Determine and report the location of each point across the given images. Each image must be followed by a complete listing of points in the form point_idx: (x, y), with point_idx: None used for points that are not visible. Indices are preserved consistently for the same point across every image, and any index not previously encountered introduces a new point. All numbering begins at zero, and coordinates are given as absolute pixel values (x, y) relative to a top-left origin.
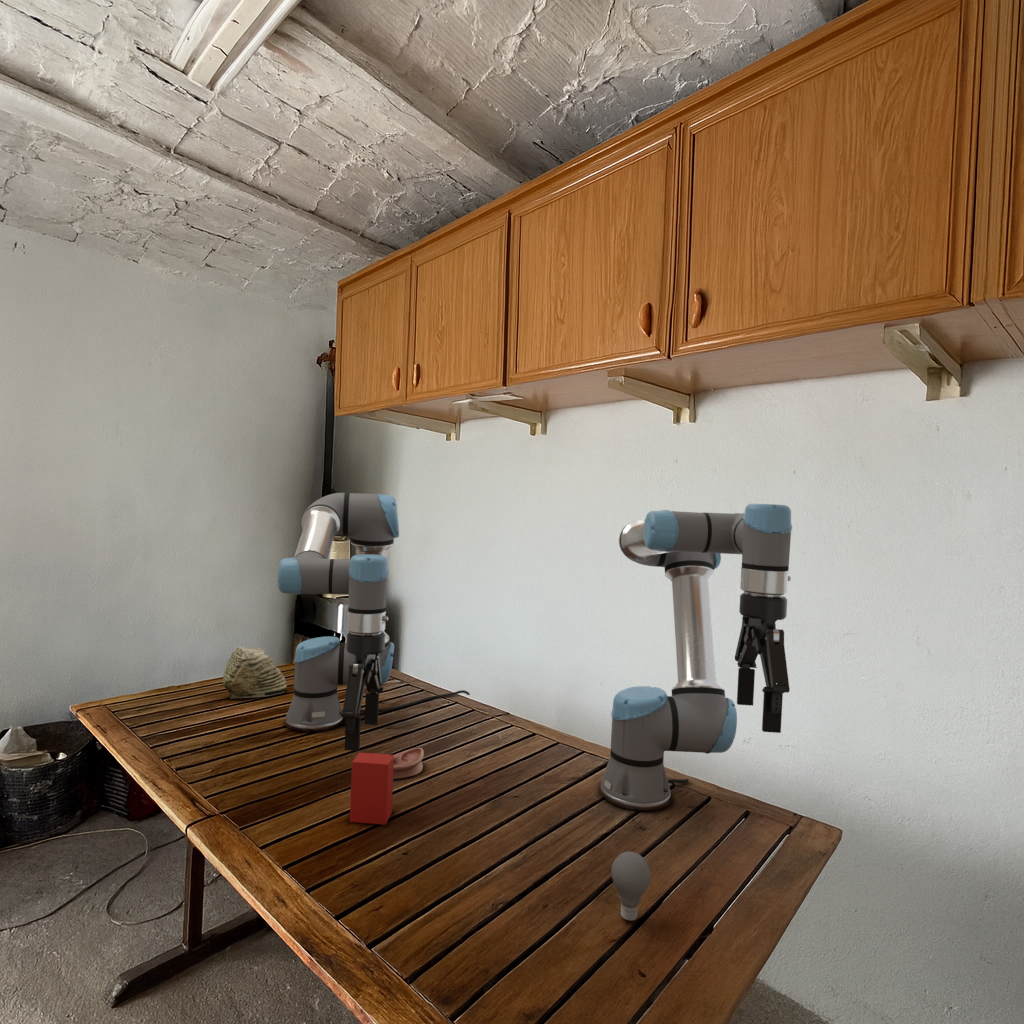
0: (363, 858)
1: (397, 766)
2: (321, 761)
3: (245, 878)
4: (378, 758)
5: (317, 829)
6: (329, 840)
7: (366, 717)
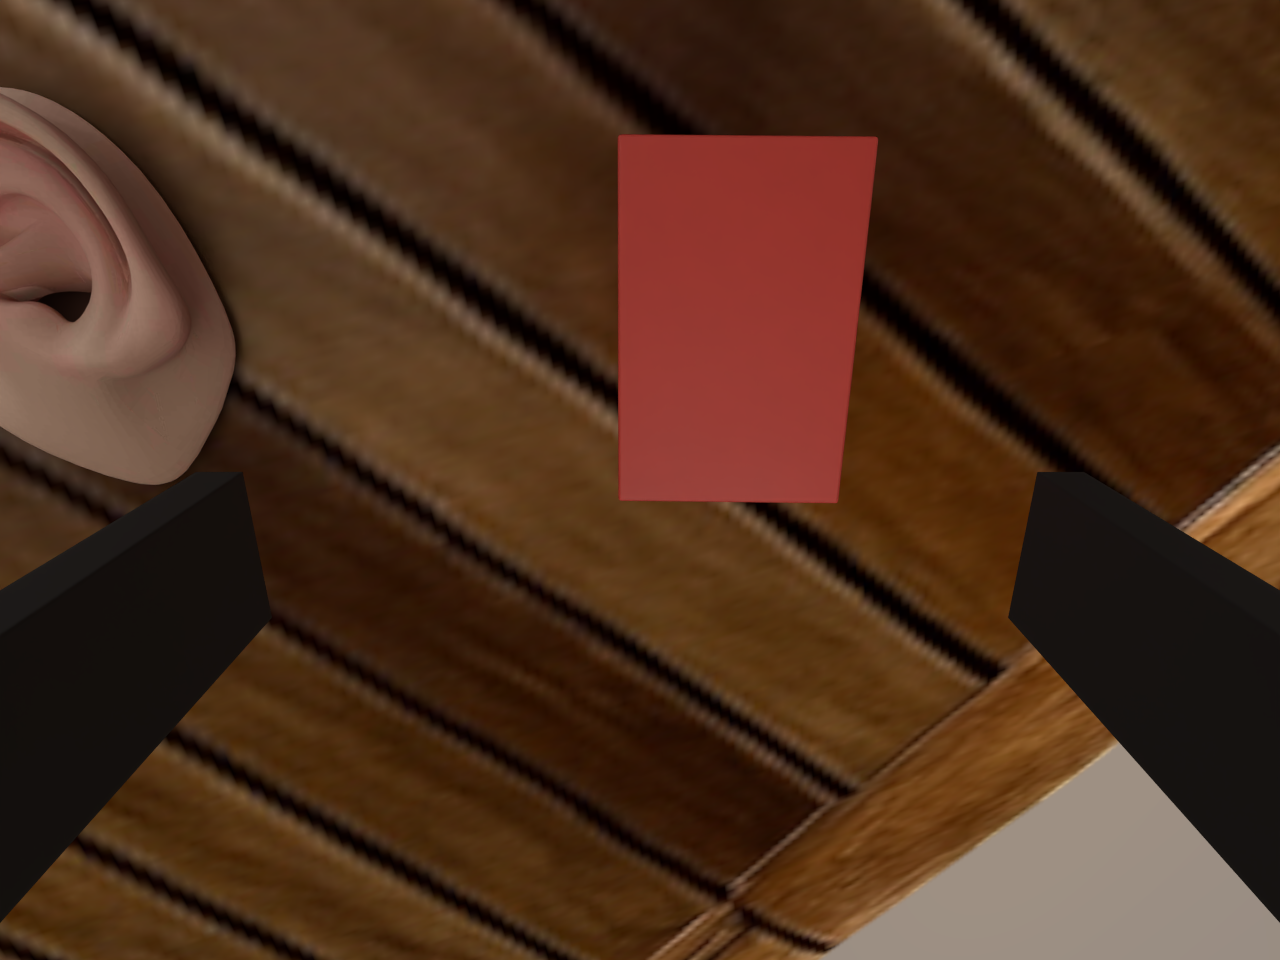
0: (1120, 201)
1: (132, 248)
2: None
3: None
4: (739, 282)
5: (837, 509)
6: (939, 423)
7: (223, 647)
